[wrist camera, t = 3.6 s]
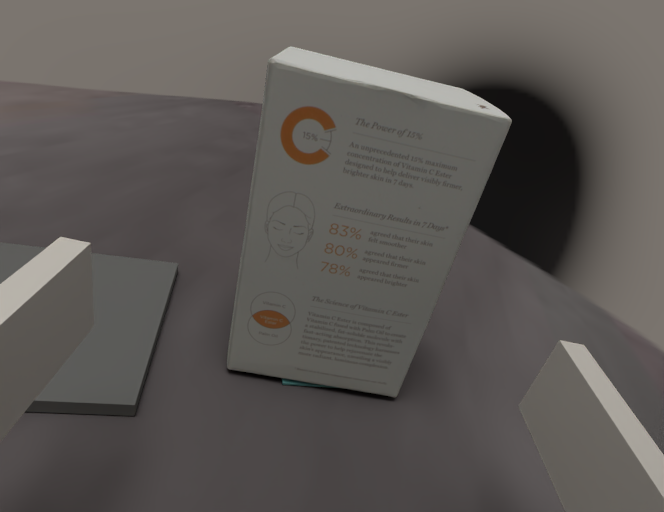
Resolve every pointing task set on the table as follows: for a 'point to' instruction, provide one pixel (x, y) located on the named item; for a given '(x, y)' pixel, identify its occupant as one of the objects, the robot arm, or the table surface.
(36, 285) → the robot arm
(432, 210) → the small box
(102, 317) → the gray slab
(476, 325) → the table surface
